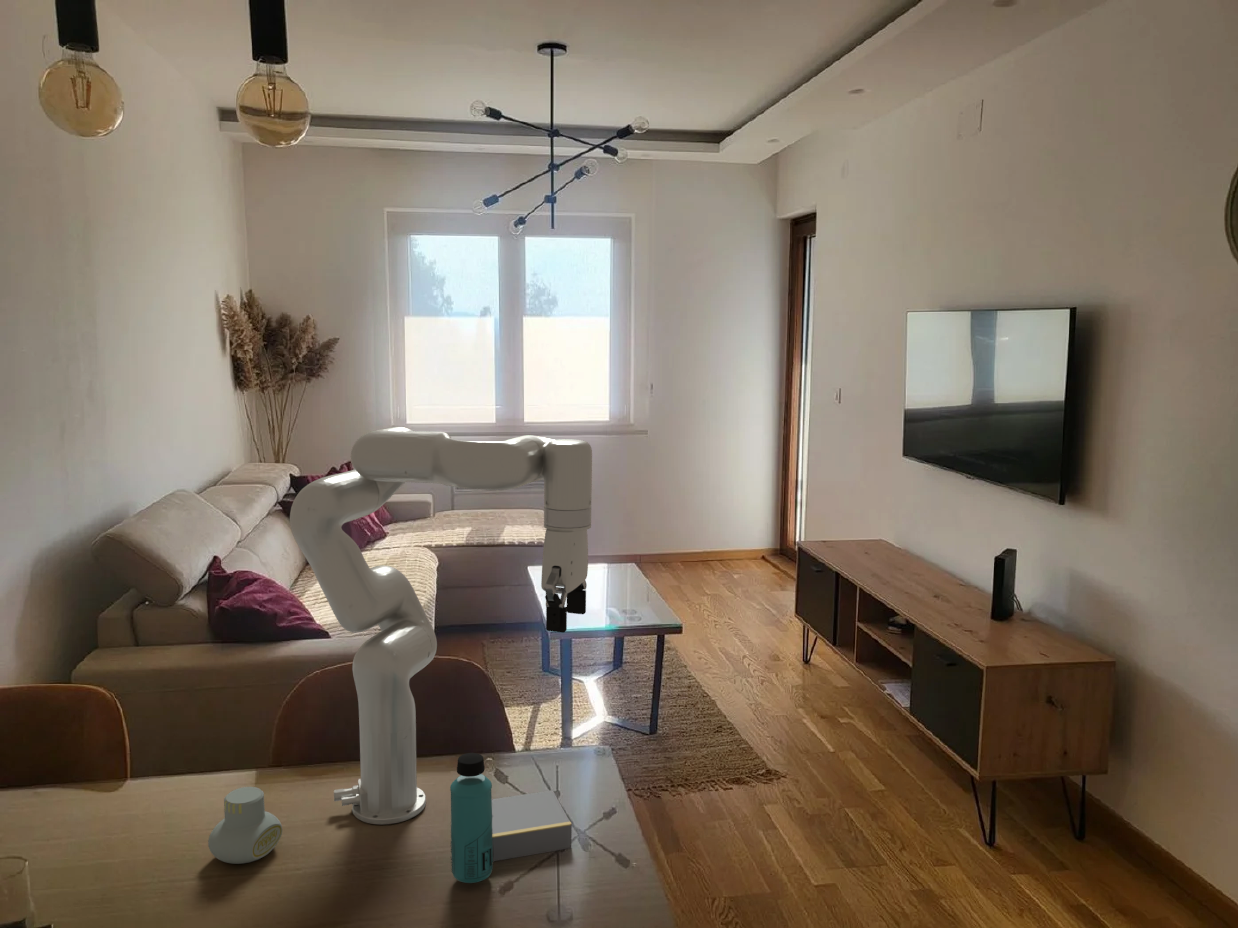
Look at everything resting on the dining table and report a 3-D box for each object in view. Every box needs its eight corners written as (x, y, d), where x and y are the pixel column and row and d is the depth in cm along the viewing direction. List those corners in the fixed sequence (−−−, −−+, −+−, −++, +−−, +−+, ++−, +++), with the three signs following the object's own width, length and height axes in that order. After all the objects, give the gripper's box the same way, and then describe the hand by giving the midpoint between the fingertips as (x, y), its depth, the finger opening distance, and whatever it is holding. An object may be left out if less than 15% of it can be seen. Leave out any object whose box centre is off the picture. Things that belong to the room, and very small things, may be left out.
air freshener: (243, 877, 140) (241, 816, 139) (200, 866, 143) (197, 806, 141) (290, 840, 150) (288, 783, 149) (249, 831, 153) (246, 774, 151)
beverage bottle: (485, 895, 137) (484, 769, 134) (443, 889, 138) (442, 764, 135) (499, 870, 143) (499, 749, 140) (459, 865, 144) (458, 745, 141)
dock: (486, 862, 145) (486, 837, 144) (473, 823, 156) (472, 800, 156) (571, 847, 150) (571, 823, 149) (552, 811, 161) (552, 788, 160)
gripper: (563, 506, 154) (562, 604, 157) (525, 526, 138) (524, 636, 140) (605, 509, 152) (604, 608, 155) (572, 530, 136) (571, 641, 138)
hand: (566, 621), depth 148 cm, fingers open, 9 cm apart
